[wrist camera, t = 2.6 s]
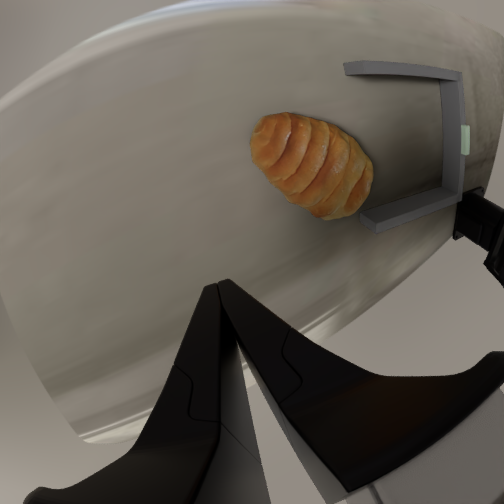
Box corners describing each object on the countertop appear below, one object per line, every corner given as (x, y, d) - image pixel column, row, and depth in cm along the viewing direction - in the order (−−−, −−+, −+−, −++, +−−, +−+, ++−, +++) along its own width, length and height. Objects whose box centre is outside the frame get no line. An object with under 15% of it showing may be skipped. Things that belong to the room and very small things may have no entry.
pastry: (227, 169, 19) (238, 183, 16) (272, 88, 17) (294, 84, 13) (325, 218, 23) (349, 238, 20) (364, 151, 21) (394, 162, 17)
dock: (443, 70, 17) (466, 72, 15) (445, 192, 25) (465, 203, 22) (343, 63, 16) (367, 60, 14) (359, 221, 24) (379, 237, 21)
